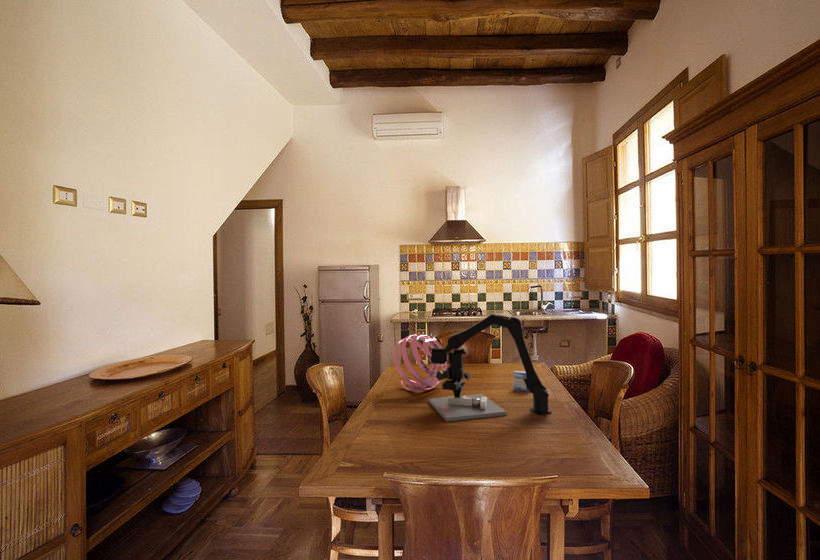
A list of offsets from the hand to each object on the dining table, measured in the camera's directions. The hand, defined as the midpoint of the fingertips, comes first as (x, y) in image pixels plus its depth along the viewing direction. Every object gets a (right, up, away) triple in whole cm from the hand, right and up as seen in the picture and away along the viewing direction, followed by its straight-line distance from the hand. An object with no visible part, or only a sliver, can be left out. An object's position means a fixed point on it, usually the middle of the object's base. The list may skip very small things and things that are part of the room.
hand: (457, 400), depth 181 cm
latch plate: (+3, -3, -2) cm, 5 cm away
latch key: (+4, -1, -3) cm, 5 cm away
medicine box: (+34, -2, +23) cm, 41 cm away
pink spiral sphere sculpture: (-14, -3, +27) cm, 31 cm away
